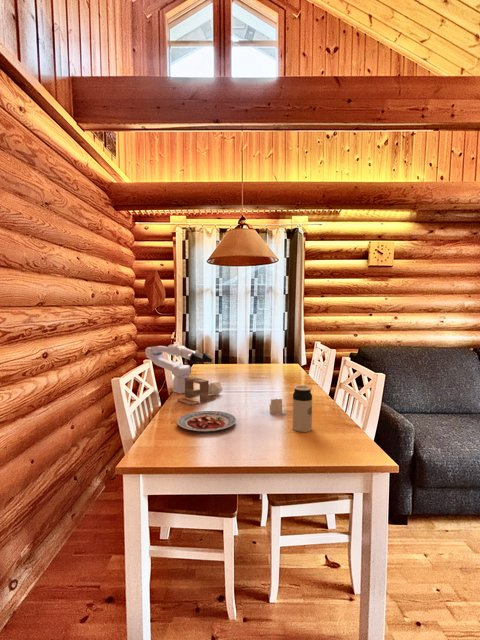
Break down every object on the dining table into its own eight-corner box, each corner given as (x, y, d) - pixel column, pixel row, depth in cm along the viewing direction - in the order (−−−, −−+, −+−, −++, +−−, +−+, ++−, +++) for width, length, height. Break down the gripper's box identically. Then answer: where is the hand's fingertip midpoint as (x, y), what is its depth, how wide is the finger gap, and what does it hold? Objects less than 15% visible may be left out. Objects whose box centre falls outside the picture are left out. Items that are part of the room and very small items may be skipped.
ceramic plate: (189, 440, 139) (188, 432, 139) (170, 420, 162) (170, 414, 162) (246, 429, 151) (246, 422, 151) (221, 412, 174) (221, 406, 174)
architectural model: (268, 412, 174) (269, 397, 174) (282, 411, 175) (282, 397, 175) (270, 414, 171) (270, 399, 170) (284, 414, 172) (284, 398, 171)
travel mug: (288, 428, 151) (289, 386, 150) (301, 424, 156) (301, 384, 155) (302, 434, 145) (303, 390, 144) (315, 429, 150) (316, 387, 149)
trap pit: (178, 401, 192) (178, 398, 192) (185, 399, 196) (185, 397, 196) (191, 405, 184) (191, 403, 184) (199, 403, 187) (199, 401, 187)
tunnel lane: (184, 397, 200) (184, 377, 199) (198, 394, 206) (198, 375, 206) (201, 402, 189) (201, 382, 188) (215, 399, 195) (214, 379, 195)
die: (224, 395, 207) (219, 380, 211) (222, 391, 199) (217, 376, 203) (211, 400, 206) (206, 385, 210) (209, 396, 198) (203, 381, 203)
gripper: (182, 348, 201) (199, 353, 192) (200, 348, 212) (216, 353, 204) (180, 360, 201) (196, 366, 193) (198, 359, 212) (214, 365, 204)
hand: (206, 360), depth 198 cm, fingers open, 7 cm apart
